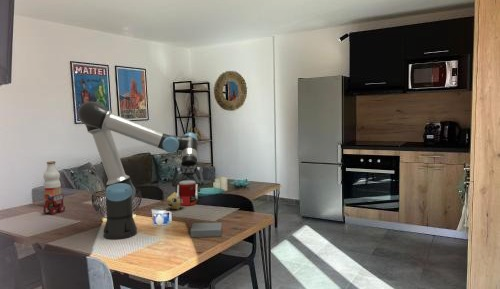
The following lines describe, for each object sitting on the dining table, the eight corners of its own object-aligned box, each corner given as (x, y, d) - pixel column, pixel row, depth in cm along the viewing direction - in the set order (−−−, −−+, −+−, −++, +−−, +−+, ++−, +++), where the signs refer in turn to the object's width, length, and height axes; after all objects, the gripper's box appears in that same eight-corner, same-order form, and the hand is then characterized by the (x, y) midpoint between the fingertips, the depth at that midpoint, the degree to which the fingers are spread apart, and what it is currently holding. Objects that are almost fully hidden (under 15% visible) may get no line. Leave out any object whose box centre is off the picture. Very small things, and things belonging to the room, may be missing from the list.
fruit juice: (63, 205, 231) (60, 161, 229) (46, 208, 225) (43, 163, 223) (60, 203, 239) (58, 160, 236) (43, 205, 233) (41, 161, 231)
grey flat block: (190, 237, 169) (190, 230, 169) (193, 229, 181) (193, 223, 181) (220, 236, 170) (220, 230, 169) (221, 228, 182) (221, 222, 181)
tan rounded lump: (162, 210, 216) (161, 193, 216) (174, 206, 227) (173, 189, 227) (176, 212, 213) (175, 194, 212) (187, 207, 224) (187, 190, 223)
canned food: (193, 206, 170) (192, 183, 169) (177, 206, 171) (176, 183, 170) (198, 202, 177) (197, 180, 176) (183, 202, 179) (182, 180, 178)
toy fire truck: (40, 214, 210) (39, 197, 210) (59, 209, 222) (58, 192, 221) (48, 216, 207) (47, 198, 207) (67, 210, 219) (66, 193, 218)
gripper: (210, 162, 189) (210, 200, 174) (169, 164, 187) (166, 202, 173) (209, 153, 183) (208, 192, 168) (167, 155, 182) (163, 194, 167)
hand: (187, 197), depth 170 cm, fingers closed on canned food, 8 cm apart
